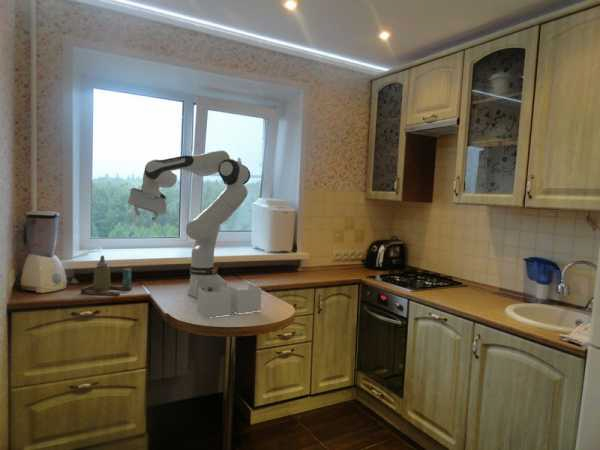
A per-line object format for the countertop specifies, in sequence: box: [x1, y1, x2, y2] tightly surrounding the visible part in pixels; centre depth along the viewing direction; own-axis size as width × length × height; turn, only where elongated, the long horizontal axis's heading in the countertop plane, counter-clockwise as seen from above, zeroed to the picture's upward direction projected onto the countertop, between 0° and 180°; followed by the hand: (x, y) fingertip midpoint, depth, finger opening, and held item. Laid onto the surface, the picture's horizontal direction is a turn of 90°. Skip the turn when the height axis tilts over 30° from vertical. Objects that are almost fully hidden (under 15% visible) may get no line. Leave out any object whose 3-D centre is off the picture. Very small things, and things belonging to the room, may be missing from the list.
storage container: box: [196, 283, 262, 319], centre depth 173 cm, size 25×11×11 cm, turn 122°
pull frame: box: [80, 268, 133, 297], centre depth 200 cm, size 18×15×10 cm
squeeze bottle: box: [92, 255, 112, 291], centre depth 199 cm, size 8×8×18 cm
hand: (145, 217), depth 205 cm, fingers open, 8 cm apart
